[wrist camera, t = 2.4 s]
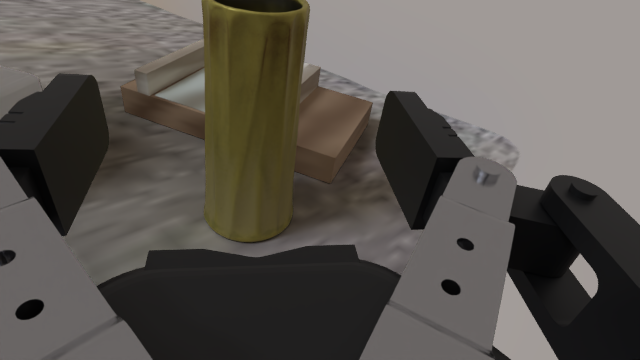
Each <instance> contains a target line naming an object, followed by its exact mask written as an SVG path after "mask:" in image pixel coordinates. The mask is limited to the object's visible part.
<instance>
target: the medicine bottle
mask: <svg viewBox="0 0 640 360" xmlns="http://www.w3.org/2000/svg"><path fill="white" fill-rule="evenodd" d="M42 91H43V90H42V87H41V84H40V80H39V78H38V77H37V76H36V75H34V74H31V73H27V72H23V71H20V70H16V69H12V68H8V67H5V66H1V65H0V119H1V118H2V117H3V116H4V115H5V114H8V111H9V110H10V109H11V108H12V107H13V106H14V105H15V104H16V103H17V102H18V101H19V100H21V99H23V98H25V97H27V96H29V95H31V94H33V93H35V92H42Z"/></svg>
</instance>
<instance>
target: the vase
mask: <svg viewBox="0 0 640 360" xmlns="http://www.w3.org/2000/svg"><path fill="white" fill-rule="evenodd" d="M202 10H203V11H202V12H203V29H204V71H205V171H206V191H205V206H204V217H205V219H206V221H207V223H208V224H209V226H210V227H211V228H212V229H213V230H214V231H215V232H216V233H218V234H219V235H221V236H223V237H225V238H228V239H230V240H234V241H240V242H257V241H262V240H266V239H269V238H272V237H274V236H276V235H278V234H279V233H281V232H282V231H283V230H284V229H285V228H286V227H287V226H288V224H289V223H290V221H291V218H292V214H293V205H292V196H293V178H294V167H295V156H296V146H297V136H298V123H299V105H300V94H301V82H302V74H303V66H304V57H305V47H306V38H307V29H308V22H309V13H310V6H309V4H308V2H307V1H306V0H202Z"/></svg>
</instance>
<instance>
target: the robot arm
mask: <svg viewBox="0 0 640 360" xmlns="http://www.w3.org/2000/svg"><path fill="white" fill-rule="evenodd" d="M108 144H109V133H108V127H107V123H106V118H105V114H104V109H103V105H102V101H101V96H100V92H99V88H98V84H97V81H96V79H95V78H94V76H92V75H79V74H58V75H57V76H56V77H55V78H54V79H53V80H52V81H51V83H50V84H49V85H48V86H47V87H46V88H45V89H44V90H43V91H42V92H35V93H33V94H31V95H29V96H27V97H25V98H23V99H21V100H19V101H18V102H17V103H16V104H15V105H14V106H13V107H12V108H11V109H10V110H9V111H8V114H5V115H4V116H3V117H2V118H1V119H0V360H511V359H509V358H508V357H507V356H505V355H504V354H503V353H501V352H500V351H499V350H498V349H496V348H495V347H494V346H493V345H492V344H493V338H494V334H495V329H496V323H497V318H498V313H499V307H500V303H501V298H502V292H503V287H504V282H505V277H506V272H508V274H509V276H510V277H511V279H512V281H513V282H514V284H515V286H516V288H517V289H518V291H519V293H520V294H521V296H522V298H523V299H524V301H525V303H526V305H527V306H528V308H529V310H530V312H531V313H532V315H533V317H534V318H535V320H536V322H537V324H538V325H539V327H540V328H541V330H542V332H543V334H544V336H545V337H546V339H547V341H548V342H549V344H550V346H551V348H552V349H553V351H554V353H555V354H556V356H557V358H558V359H559V360H640V225H639V224H638V223H637V222H636V221H635V220H634V219H633V218H632V217H631V216H630V215H629V214H628V213H627V212H626V211H625V210H624V209H622V207H621V206H620V205H619V204H617V203H616V202H615V201H614V200H613V199H612V198H611V197H610V196H609V195H608V194H607V193H606V192H605V191H603V190H602V189H601V188H599V187H597V186H596V185H594V184H592V183H590V182H588V181H586V180H583V179H580V178H577V177H573V176H567V175H559V176H555V177H553V178H552V179H551V181H550V183H549V184H548V186H547V188H546V189H545V191H543V190H538V189H534V188H529V187H524V186H519V185H517V181H516V178H515V176H514V175H513V173H512V172H511V171H510V170H508V169H507V168H506V167H504V166H503V165H501V164H499V163H497V162H495V161H492V160H489V159H486V158H481V157H475V156H474V155H473V154H472V153H471V151H470V150H469V149H468V148H467V146H466V145H465V144H464V143H463V141H462V140H461V139H460V138H459V137H457V134H456V133H455V131H454V130H453V129H451V126H450V125H449V124H448V123H447V121H446V120H445V119H444V118H443V117H442V116H440V115H439V114H437V113H436V112H434V111H433V110H431V109H428V108H427V107H426V105H425V104H424V103H423V102H422V100H421V99H420V98H419V96H418V95H417V94H416V93H415V92H401V91H390V92H389V93H388V94H387V96H386V99H385V103H384V107H383V111H382V116H381V120H380V124H379V128H378V132H377V136H376V154H377V157H378V159H379V161H380V164H381V166H382V168H383V170H384V172H385V174H386V177H387V179H388V181H389V183H390V185H391V187H392V189H393V192H394V194H395V196H396V198H397V200H398V202H399V205H400V207H401V209H402V211H403V213H404V215H405V217H406V220H407V222H408V224H409V226H410V228H411V230H418V229H424V231H423V233H422V235H421V237H420V239H419V241H418V243H417V245H416V247H415V249H414V251H413V253H412V255H411V257H410V260H409V262H408V264H407V266H406V268H405V270H404V272H403V274H402V276H401V275H399V274H397V273H396V272H394V271H392V270H390V269H388V268H386V267H383V266H380V265H378V264H375V263H372V262H368V261H364V260H359V258H358V255H357V252H356V248H355V245H327V246H306V247H302V248H297V249H293V250H289V251H285V252H281V253H276V254H272V255H268V256H264V257H248V256H242V255H236V254H230V253H224V252H218V251H212V250H206V249H187V250H152V251H149V253H148V257H147V261H146V265H145V267H143V268H139V269H135V270H132V271H129V272H126V273H123V274H121V275H118V276H116V277H114V278H111V279H109V280H107V281H106V282H104V283H102V284H100V285H98V286H96V285H95V284H94V283H93V281H92V280H91V278H90V277H89V275H88V274H87V272H86V271H85V269H84V268H83V267H82V265H81V264H80V262H79V261H78V259H77V258H76V256H75V255H74V254H73V252H72V251H71V249H70V248H69V246H68V245H67V243H66V242H65V240H64V239H63V238H62V236H66V235H67V233H68V231H69V229H70V227H71V225H72V223H73V221H74V219H75V217H76V214H77V212H78V210H79V208H80V206H81V204H82V202H83V200H84V198H85V196H86V194H87V192H88V189H89V187H90V185H91V183H92V181H93V179H94V177H95V175H96V173H97V171H98V169H99V167H100V165H101V162H102V160H103V158H104V156H105V154H106V152H107V149H108ZM579 254H581V255H582V256H583V257H584V259H585V260H586V261H587V262H588V263H589V265H590V266H591V267H592V268H593V270H594V271H595V273H596V275H597V278H598V290H597V293H596V294H595V296H594V297H593V298H592V299H591V297H590V296H589V295H588V293H587V292H586V291H585V289H584V288H583V287H582V285H581V284H580V283H579V281H578V280H577V279H576V277H575V276H574V275H573V273H572V272H571V271H570V269H569V267H570V266H571V265H572V263H573V262H574V260H575V259H576V258H577V257H578V255H579Z"/></svg>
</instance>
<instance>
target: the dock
mask: <svg viewBox="0 0 640 360" xmlns="http://www.w3.org/2000/svg"><path fill="white" fill-rule="evenodd" d="M134 72H135V78H136V79H135V80H133V81H131V82H128V83H126V84H124V85H122V86H121V91H122V97H123V102H124V108H125V112H127V113H130V114H133V115H136V116H139V117H141V118H144V119H147V120H150V121H153V122H156V123H159V124H161V125H164V126H167V127H170V128H173V129H176V130H179V131H181V132H184V133H187V134H190V135H193V136H196V137H198V138H201V139H204V140H205V71H204V39H202V40H200V41H197V42H195V43H193V44H191V45H188V46H186V47H184V48H182V49H180V50H177V51H175V52H173V53H171V54H168V55H166V56H164V57H162V58H160V59H157V60H155V61H153V62H151V63H148V64H146V65H144V66H142V67H139V68H137V69H135V70H134ZM319 75H320V67H318V66H315V65H311V64H308V63H304V66H303V74H302V82H301V94H300V105H299V123H298V136H297V146H296V156H295V167H294V171H295V172H298V173H301V174H304V175H307V176H310V177H313V178H315V179H318V180H321V181H324V182H327V183H330V184H331V182H332V181H333V179H334V177H335V176H336V174H337V173H338V171H339V169H340V168H341V166H342V165H343V163H344V161H345V160H346V158H347V157H348V155H349V154H350V152H351V150H352V149H353V147H354V146H355V144H356V142H357V141H358V139H359V138H360V136H361V134H362V133H363V131H364V130H365V128H366V126H367V125H368V121H369V116H370V112H371V108H372V104H373V103H372V102H369V101H366V100H362V99H359V98H356V97H352V96H349V95H346V94H342V93H339V92H335V91H332V90H329V89H325V88H322V87H319V86H318V82H319Z"/></svg>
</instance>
